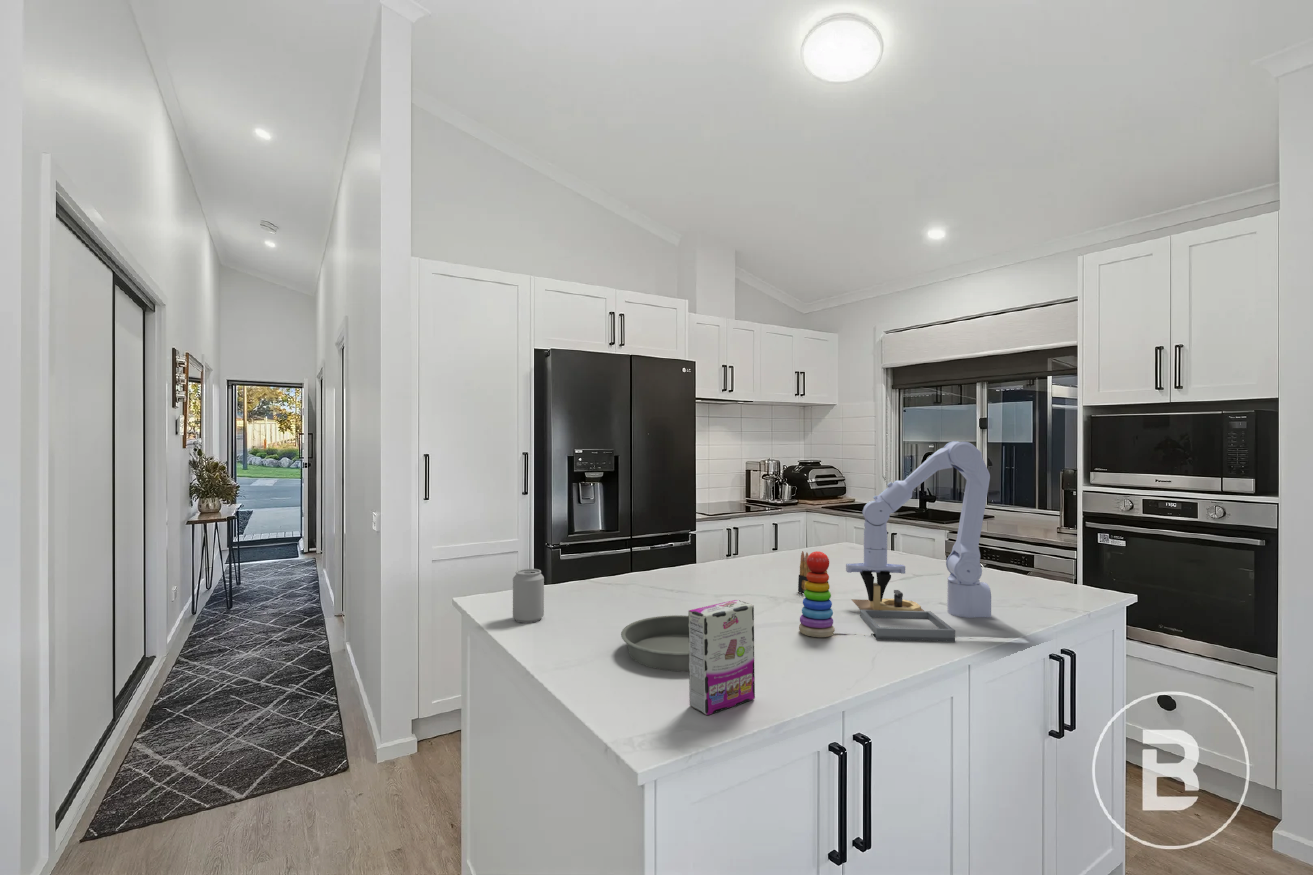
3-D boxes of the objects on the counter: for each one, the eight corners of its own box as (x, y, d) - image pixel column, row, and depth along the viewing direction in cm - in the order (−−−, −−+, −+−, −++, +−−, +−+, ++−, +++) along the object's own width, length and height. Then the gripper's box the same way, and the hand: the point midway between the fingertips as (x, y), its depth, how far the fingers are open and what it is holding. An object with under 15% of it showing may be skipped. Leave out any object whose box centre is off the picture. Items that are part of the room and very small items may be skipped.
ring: (911, 603, 166) (911, 580, 166) (925, 614, 156) (925, 590, 156) (866, 602, 167) (867, 580, 167) (877, 613, 157) (877, 589, 157)
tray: (930, 621, 154) (930, 611, 154) (955, 641, 139) (955, 630, 139) (859, 619, 155) (859, 609, 155) (876, 639, 140) (876, 628, 140)
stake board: (911, 604, 169) (911, 600, 169) (930, 619, 155) (930, 615, 155) (851, 602, 170) (851, 599, 170) (864, 618, 156) (864, 614, 156)
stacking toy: (836, 639, 140) (836, 555, 140) (799, 637, 141) (799, 554, 141) (833, 629, 148) (833, 549, 148) (798, 626, 149) (798, 548, 149)
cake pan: (606, 641, 139) (606, 621, 139) (707, 629, 148) (707, 610, 148) (643, 682, 116) (643, 658, 116) (760, 666, 125) (760, 643, 125)
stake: (900, 606, 163) (900, 590, 163) (904, 610, 160) (904, 593, 160) (892, 606, 164) (892, 589, 164) (896, 610, 160) (896, 593, 160)
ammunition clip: (829, 599, 174) (829, 556, 174) (824, 600, 173) (824, 557, 173) (802, 591, 183) (802, 550, 183) (797, 591, 182) (798, 550, 182)
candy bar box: (735, 690, 112) (736, 598, 112) (755, 699, 108) (756, 604, 108) (686, 705, 106) (687, 608, 106) (706, 716, 102) (706, 615, 102)
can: (547, 615, 158) (547, 567, 158) (538, 624, 151) (539, 574, 151) (518, 614, 159) (518, 567, 159) (508, 623, 151) (508, 573, 151)
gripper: (899, 545, 165) (899, 597, 166) (843, 544, 167) (843, 595, 167) (908, 550, 158) (907, 604, 159) (849, 549, 160) (849, 602, 160)
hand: (875, 600), depth 162 cm, fingers closed on ring
